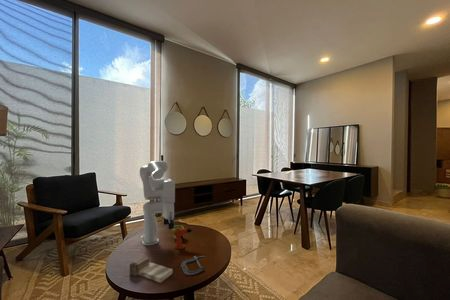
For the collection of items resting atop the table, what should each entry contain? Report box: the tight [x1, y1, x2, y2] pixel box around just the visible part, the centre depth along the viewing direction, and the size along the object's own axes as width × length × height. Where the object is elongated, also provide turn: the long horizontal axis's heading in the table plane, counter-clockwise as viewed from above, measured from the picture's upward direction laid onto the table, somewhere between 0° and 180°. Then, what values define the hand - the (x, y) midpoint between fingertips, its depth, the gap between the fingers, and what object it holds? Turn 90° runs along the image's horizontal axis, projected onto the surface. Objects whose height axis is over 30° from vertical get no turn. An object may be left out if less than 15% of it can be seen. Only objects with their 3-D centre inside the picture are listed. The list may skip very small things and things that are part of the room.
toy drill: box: [173, 227, 199, 250], centre depth 162 cm, size 5×19×15 cm, turn 94°
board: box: [137, 261, 174, 283], centre depth 129 cm, size 24×10×3 cm, turn 64°
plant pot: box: [172, 225, 185, 240], centre depth 179 cm, size 9×9×9 cm
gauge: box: [129, 255, 150, 277], centre depth 130 cm, size 5×10×7 cm, turn 154°
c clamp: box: [180, 255, 206, 277], centre depth 137 cm, size 20×17×3 cm
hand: (168, 226), depth 139 cm, fingers open, 9 cm apart
